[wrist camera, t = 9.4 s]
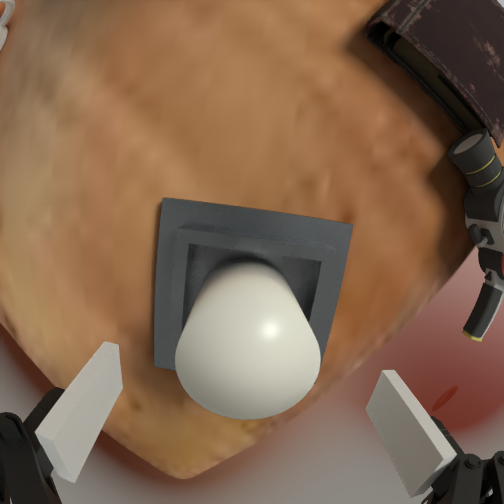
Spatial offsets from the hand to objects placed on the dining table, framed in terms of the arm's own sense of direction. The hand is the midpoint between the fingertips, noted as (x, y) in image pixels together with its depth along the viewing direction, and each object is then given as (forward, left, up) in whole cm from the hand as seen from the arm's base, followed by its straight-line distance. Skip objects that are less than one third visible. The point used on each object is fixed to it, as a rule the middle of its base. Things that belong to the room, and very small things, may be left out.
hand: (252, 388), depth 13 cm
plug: (0, 0, -12) cm, 12 cm away
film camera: (-9, +24, -14) cm, 29 cm away
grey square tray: (0, 0, -13) cm, 13 cm away
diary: (-34, +21, -14) cm, 42 cm away
